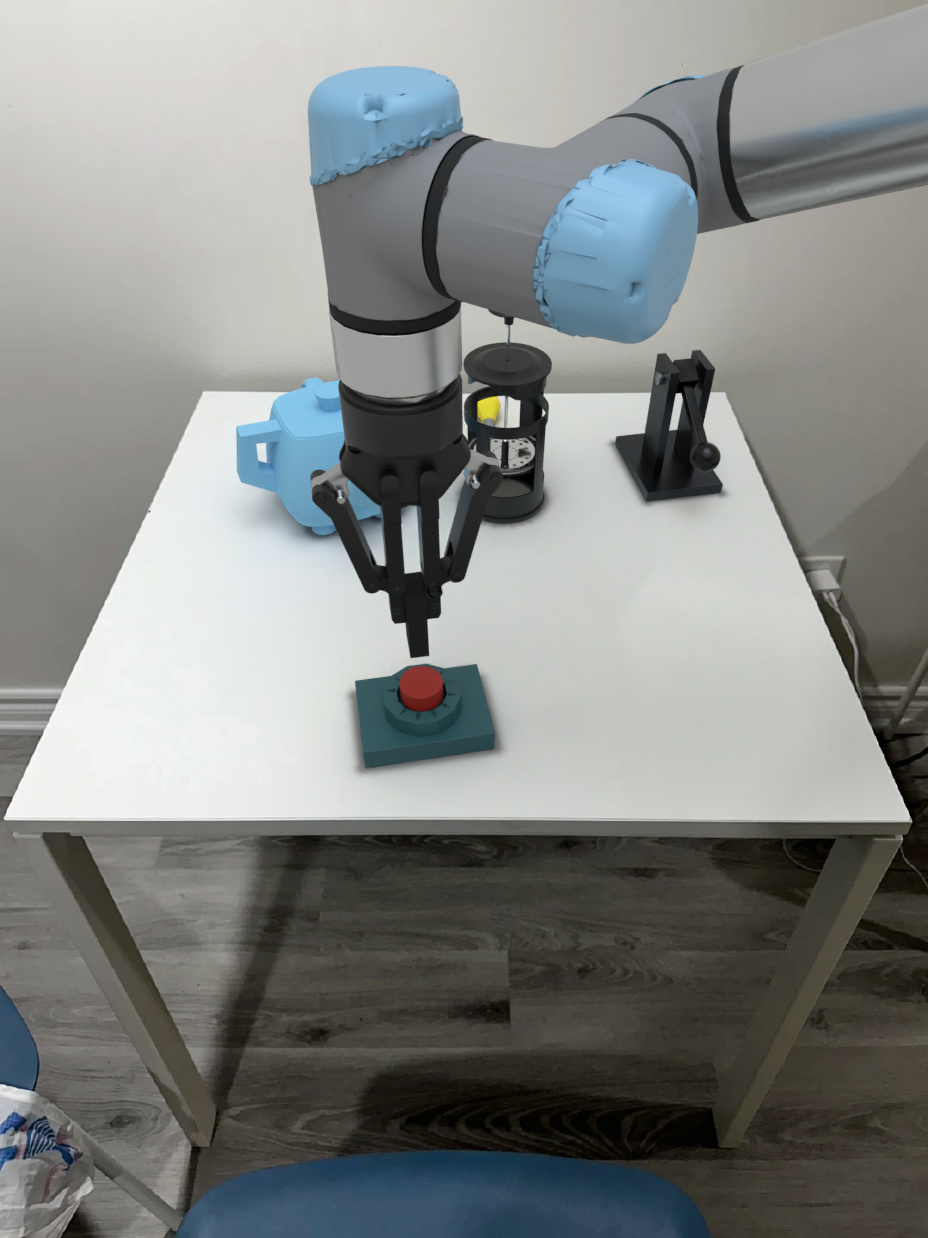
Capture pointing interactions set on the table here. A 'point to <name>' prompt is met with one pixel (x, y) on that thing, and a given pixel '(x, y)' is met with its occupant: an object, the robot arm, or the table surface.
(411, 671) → the stop button
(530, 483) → the french press
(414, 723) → the button box
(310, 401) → the teapot
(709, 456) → the switch lever
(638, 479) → the ball knob lever stand
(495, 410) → the light bulb
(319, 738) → the table surface
